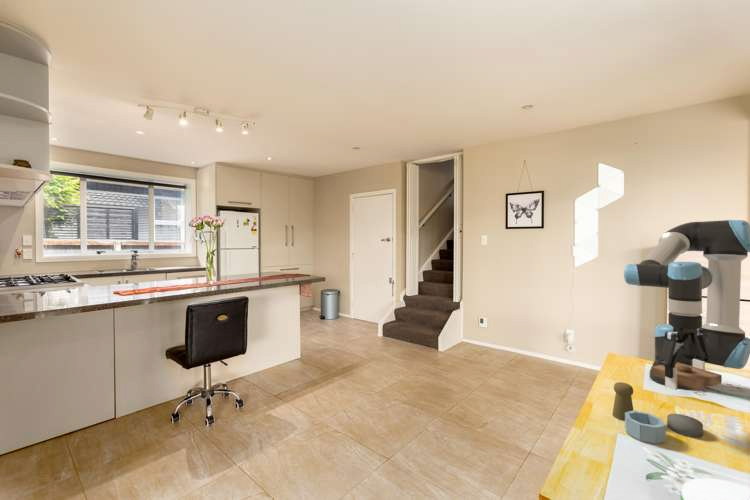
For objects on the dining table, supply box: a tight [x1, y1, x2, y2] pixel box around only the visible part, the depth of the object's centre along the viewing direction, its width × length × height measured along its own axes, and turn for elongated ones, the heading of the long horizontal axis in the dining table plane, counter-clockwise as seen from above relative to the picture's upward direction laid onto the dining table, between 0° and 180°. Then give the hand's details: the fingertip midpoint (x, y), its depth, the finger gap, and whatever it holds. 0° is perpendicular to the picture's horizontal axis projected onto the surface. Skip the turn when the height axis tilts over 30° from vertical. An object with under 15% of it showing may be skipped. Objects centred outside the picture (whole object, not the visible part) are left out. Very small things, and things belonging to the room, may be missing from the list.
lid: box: [650, 362, 723, 391], centre depth 103 cm, size 12×12×4 cm
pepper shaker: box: [612, 381, 635, 422], centre depth 111 cm, size 6×6×11 cm
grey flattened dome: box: [666, 413, 704, 439], centre depth 103 cm, size 8×8×3 cm
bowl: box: [624, 410, 667, 445], centre depth 101 cm, size 9×9×5 cm
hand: (685, 384), depth 103 cm, fingers closed on lid, 11 cm apart
